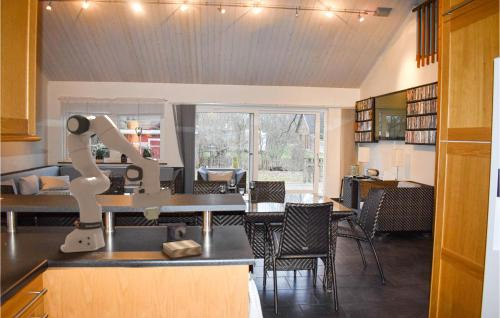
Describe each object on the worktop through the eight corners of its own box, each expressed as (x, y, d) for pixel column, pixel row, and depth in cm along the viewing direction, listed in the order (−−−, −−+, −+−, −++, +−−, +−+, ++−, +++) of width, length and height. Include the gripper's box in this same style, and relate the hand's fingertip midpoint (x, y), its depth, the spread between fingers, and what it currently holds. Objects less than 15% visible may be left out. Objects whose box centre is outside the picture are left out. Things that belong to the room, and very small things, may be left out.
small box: (167, 244, 237) (167, 225, 236) (166, 241, 243) (166, 223, 242) (186, 243, 240) (186, 224, 239) (185, 240, 246) (185, 222, 245)
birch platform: (171, 257, 212) (171, 250, 212) (163, 250, 224) (163, 243, 224) (201, 253, 220) (201, 246, 220) (191, 246, 232) (191, 239, 232)
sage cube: (148, 219, 216) (148, 210, 216) (145, 218, 220) (145, 208, 220) (158, 218, 218) (157, 209, 218) (155, 217, 223) (155, 207, 222)
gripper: (168, 186, 226) (169, 212, 227) (130, 189, 216) (130, 216, 217) (172, 188, 221) (173, 214, 222) (133, 190, 211) (133, 218, 212)
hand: (151, 215), depth 219 cm, fingers closed on sage cube, 5 cm apart
